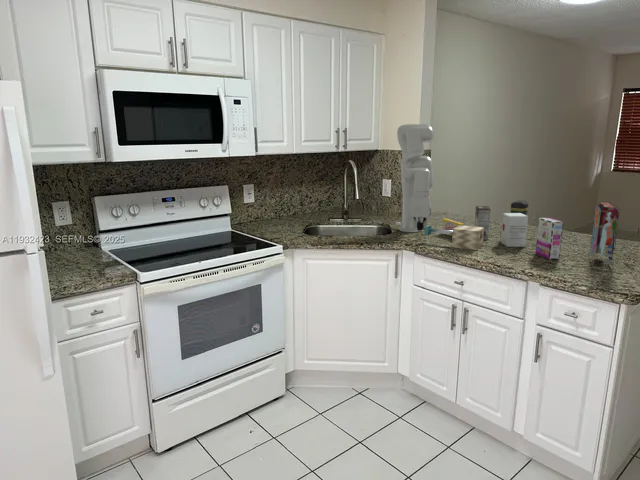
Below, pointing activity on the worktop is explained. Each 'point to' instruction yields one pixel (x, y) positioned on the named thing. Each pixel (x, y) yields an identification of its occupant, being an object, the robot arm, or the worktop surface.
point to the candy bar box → (549, 238)
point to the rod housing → (467, 237)
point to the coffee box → (483, 219)
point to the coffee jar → (519, 207)
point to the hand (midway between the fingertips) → (420, 230)
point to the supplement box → (514, 229)
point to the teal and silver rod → (436, 231)
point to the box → (604, 232)
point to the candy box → (450, 224)
